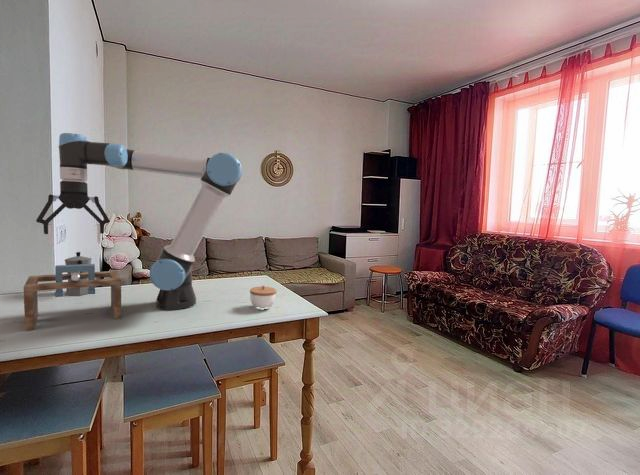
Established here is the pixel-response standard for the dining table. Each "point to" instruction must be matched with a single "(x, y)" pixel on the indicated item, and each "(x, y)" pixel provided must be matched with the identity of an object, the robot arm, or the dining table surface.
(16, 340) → the dining table surface
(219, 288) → the dining table surface
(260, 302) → the lidded jar
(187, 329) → the dining table surface
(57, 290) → the blue square arch
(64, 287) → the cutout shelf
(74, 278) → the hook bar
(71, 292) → the coffeepot
